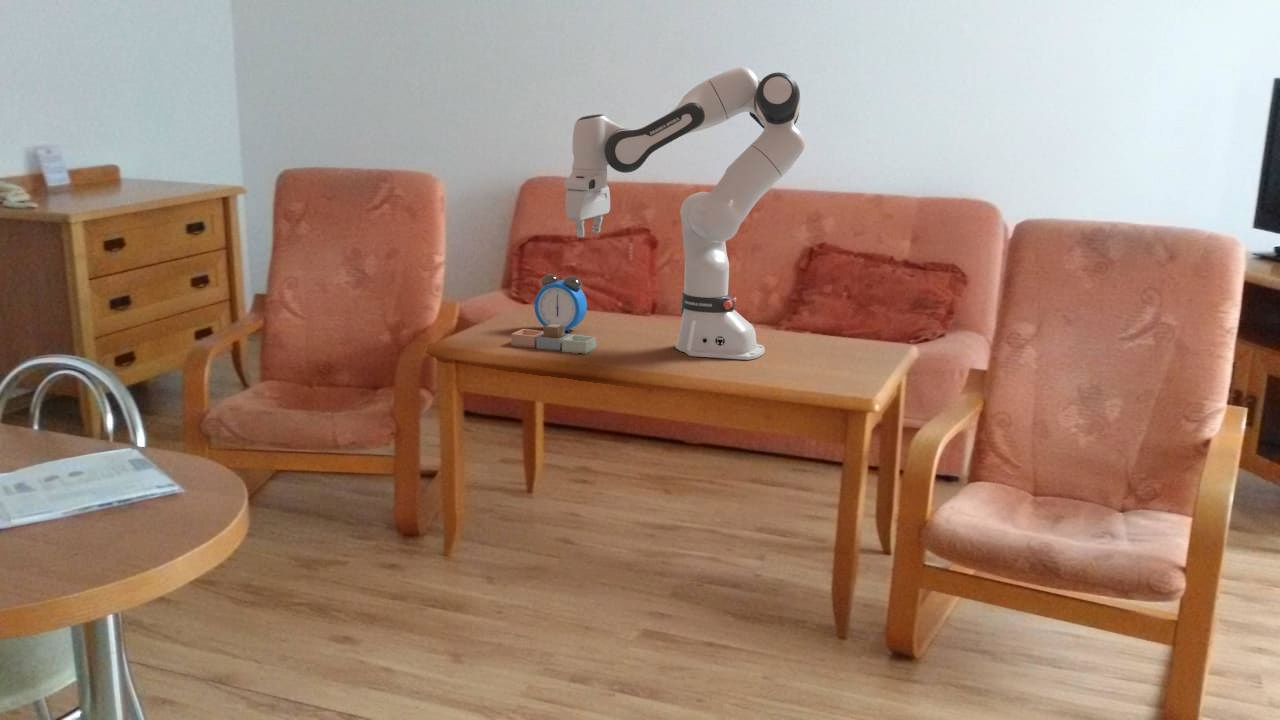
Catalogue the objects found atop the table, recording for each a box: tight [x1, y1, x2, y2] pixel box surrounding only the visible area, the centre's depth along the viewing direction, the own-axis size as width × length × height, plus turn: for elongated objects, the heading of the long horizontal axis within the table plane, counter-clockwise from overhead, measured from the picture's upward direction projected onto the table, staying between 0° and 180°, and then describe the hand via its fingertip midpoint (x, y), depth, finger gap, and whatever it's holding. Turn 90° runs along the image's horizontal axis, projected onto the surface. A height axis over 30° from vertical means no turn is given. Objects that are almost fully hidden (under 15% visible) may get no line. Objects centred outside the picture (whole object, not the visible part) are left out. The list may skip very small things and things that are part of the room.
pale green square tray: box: [561, 334, 597, 355], centre depth 281 cm, size 6×6×3 cm
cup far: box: [511, 328, 543, 349], centre depth 286 cm, size 6×6×3 cm
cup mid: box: [536, 333, 571, 352], centre depth 283 cm, size 6×6×3 cm
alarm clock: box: [533, 273, 588, 334], centre depth 300 cm, size 13×6×15 cm, turn 71°
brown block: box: [542, 324, 566, 339], centre depth 283 cm, size 4×4×5 cm
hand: (588, 234), depth 288 cm, fingers open, 8 cm apart
